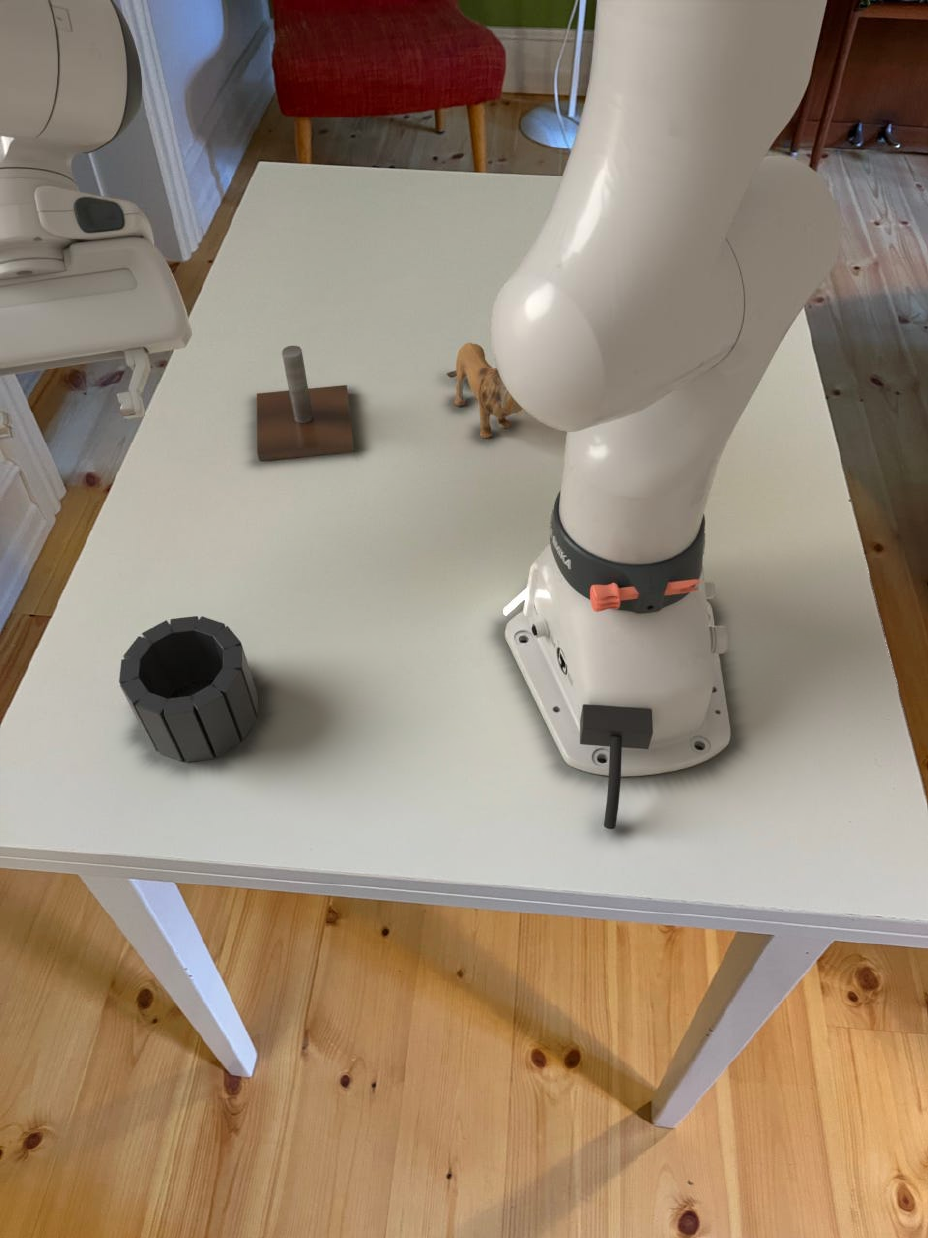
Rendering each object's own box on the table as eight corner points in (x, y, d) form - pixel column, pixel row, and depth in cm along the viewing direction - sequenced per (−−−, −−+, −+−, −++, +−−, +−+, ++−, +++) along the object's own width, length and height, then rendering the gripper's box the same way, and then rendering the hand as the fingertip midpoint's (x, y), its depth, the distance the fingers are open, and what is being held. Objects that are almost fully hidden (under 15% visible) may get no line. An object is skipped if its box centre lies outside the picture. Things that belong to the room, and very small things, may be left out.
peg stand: (354, 451, 99) (344, 376, 91) (259, 461, 98) (241, 386, 90) (347, 393, 105) (338, 318, 97) (258, 401, 104) (242, 327, 96)
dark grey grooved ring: (258, 753, 75) (241, 705, 70) (140, 768, 75) (114, 721, 69) (257, 661, 81) (242, 610, 76) (148, 674, 80) (124, 623, 75)
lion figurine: (541, 440, 100) (547, 370, 93) (501, 458, 98) (503, 388, 91) (465, 370, 107) (465, 301, 100) (426, 386, 105) (423, 316, 98)
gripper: (-153, 241, 62) (-100, 448, 64) (159, 200, 65) (202, 399, 67) (-112, 267, 68) (-64, 455, 70) (171, 230, 71) (210, 410, 73)
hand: (68, 427), depth 68 cm, fingers open, 8 cm apart
